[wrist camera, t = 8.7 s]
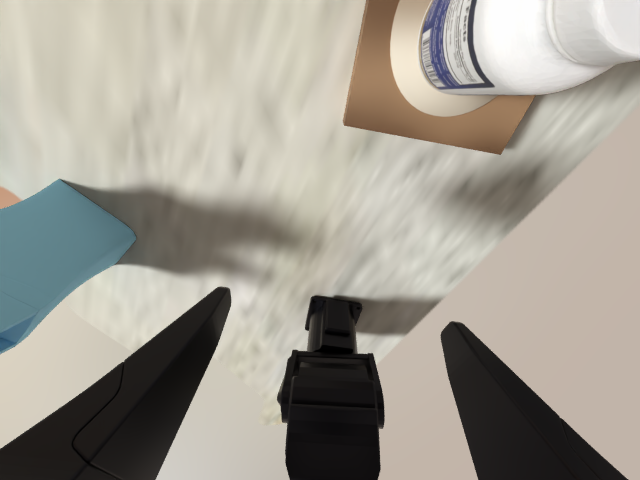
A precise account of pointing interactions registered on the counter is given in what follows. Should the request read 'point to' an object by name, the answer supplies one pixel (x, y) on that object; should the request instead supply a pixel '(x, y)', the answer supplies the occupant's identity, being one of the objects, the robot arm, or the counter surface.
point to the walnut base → (419, 88)
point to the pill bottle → (524, 44)
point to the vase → (51, 254)
